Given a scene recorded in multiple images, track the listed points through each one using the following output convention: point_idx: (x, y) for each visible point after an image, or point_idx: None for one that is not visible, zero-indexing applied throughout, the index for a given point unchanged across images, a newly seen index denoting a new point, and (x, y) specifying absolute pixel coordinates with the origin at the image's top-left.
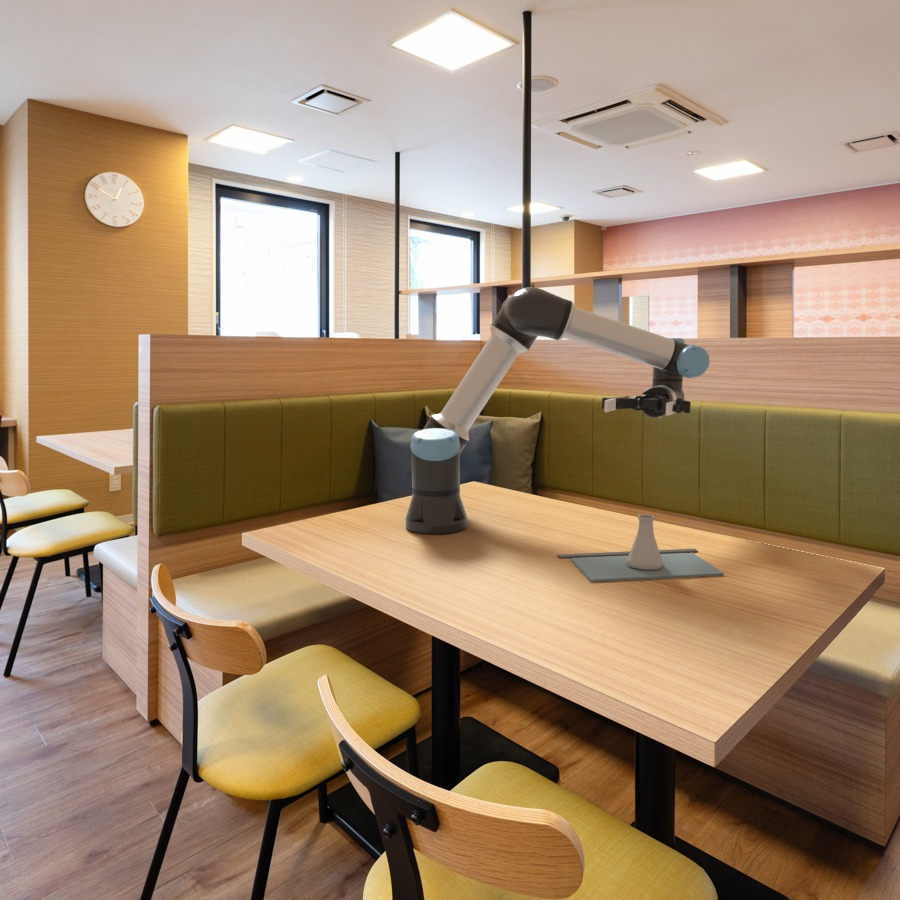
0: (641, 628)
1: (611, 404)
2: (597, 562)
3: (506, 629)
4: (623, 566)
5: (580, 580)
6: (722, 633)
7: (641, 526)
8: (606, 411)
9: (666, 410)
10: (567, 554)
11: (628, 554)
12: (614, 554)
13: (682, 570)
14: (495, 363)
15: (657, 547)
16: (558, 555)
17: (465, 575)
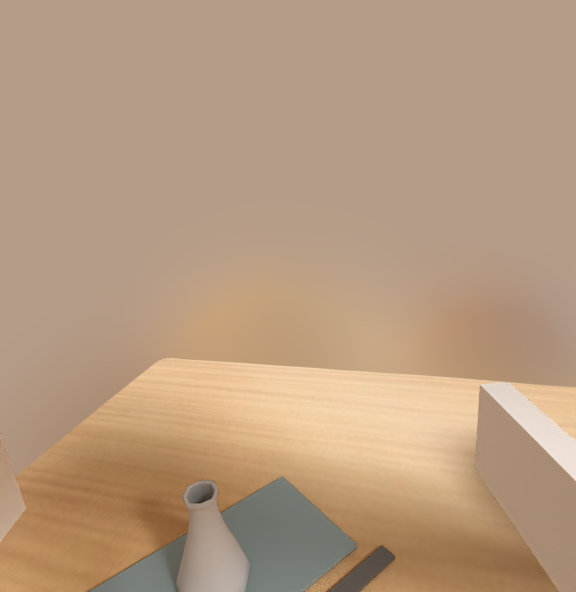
0: (202, 416)
1: (547, 505)
2: (301, 545)
3: (306, 379)
4: (251, 549)
5: (298, 479)
6: (127, 435)
7: (211, 498)
8: (482, 462)
9: (11, 476)
10: (378, 567)
11: None
12: None
13: (140, 584)
14: None
15: (184, 550)
16: (389, 552)
17: (433, 431)
